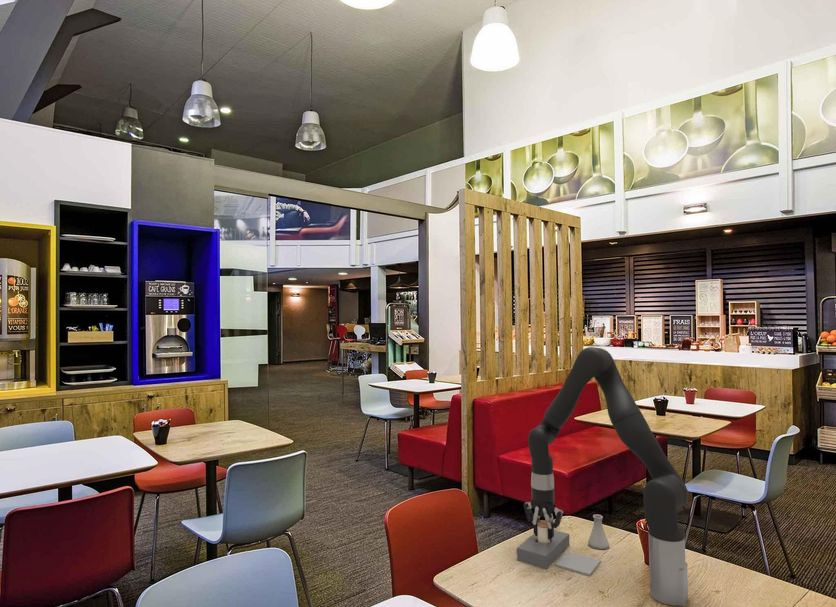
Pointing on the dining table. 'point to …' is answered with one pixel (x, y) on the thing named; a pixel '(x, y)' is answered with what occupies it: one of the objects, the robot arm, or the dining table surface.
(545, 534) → the plug
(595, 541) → the flask
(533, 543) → the grey socket block
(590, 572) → the mat
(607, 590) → the dining table surface
